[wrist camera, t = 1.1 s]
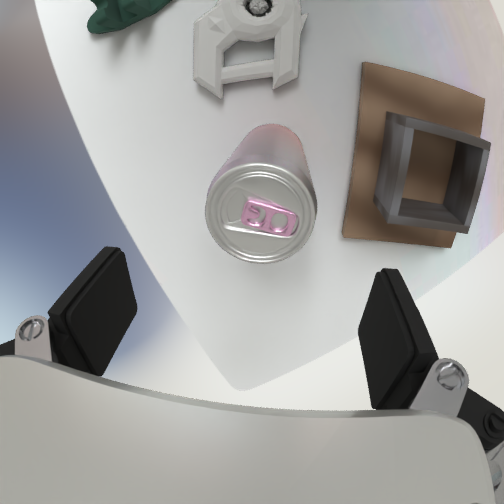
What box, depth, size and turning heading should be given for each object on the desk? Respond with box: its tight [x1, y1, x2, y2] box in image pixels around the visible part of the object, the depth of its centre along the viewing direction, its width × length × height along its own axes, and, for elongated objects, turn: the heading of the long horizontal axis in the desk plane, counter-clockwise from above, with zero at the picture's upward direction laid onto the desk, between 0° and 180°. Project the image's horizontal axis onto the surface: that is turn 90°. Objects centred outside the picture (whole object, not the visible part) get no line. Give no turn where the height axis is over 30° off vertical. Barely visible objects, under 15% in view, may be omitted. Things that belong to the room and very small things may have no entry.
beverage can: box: [205, 124, 317, 264], centre depth 21 cm, size 6×6×15 cm
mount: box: [87, 0, 172, 34], centre depth 18 cm, size 11×4×5 cm, turn 104°
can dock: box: [342, 62, 491, 248], centre depth 23 cm, size 18×14×6 cm
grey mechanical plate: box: [193, 0, 308, 99], centre depth 19 cm, size 18×4×10 cm
